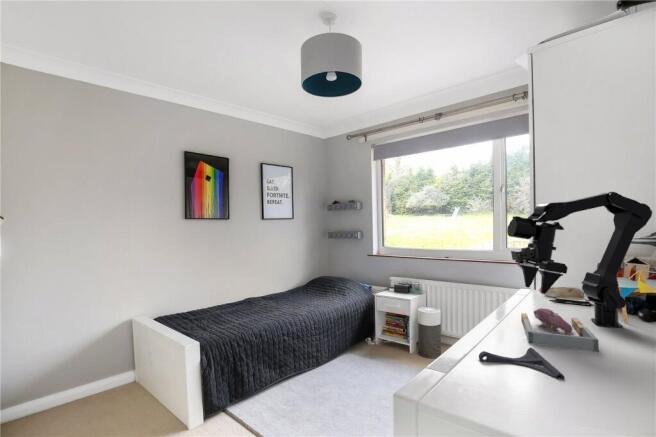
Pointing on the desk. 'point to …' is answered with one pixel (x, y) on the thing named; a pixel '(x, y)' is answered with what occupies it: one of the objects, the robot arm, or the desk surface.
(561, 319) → the video game controller
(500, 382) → the desk surface
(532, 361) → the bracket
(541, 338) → the grey u-shaped frame
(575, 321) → the pair of wooden bars
